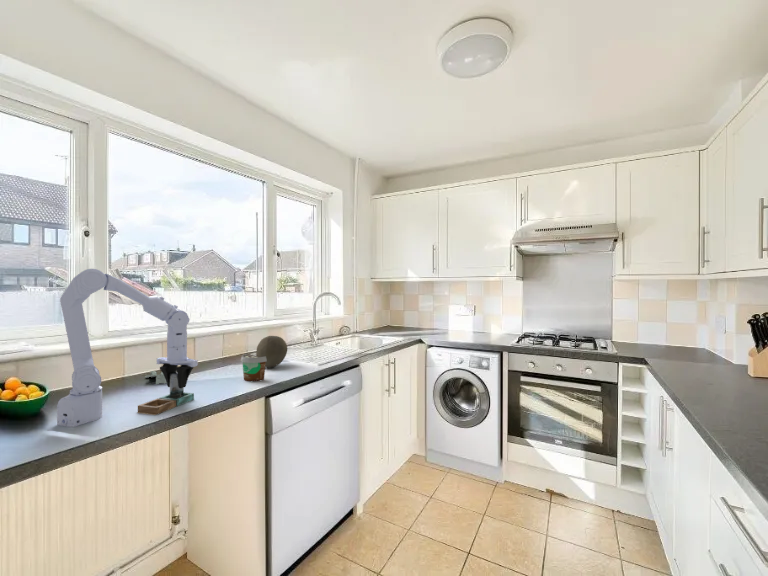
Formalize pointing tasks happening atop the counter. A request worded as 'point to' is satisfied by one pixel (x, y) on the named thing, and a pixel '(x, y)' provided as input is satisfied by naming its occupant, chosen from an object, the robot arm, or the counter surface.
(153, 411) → the board
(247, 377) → the food container
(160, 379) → the metal bracket
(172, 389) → the steel pin
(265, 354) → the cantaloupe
